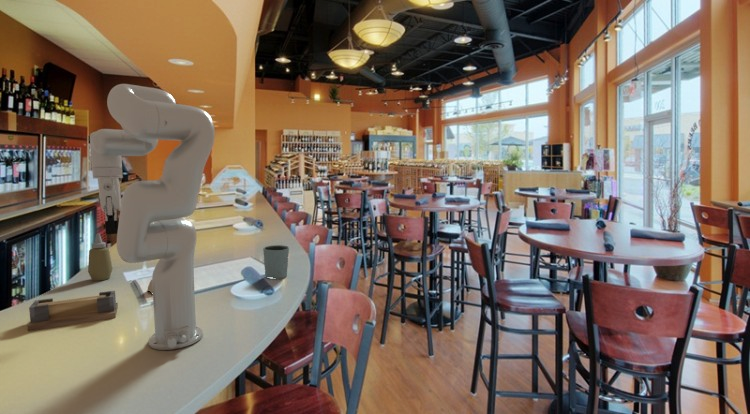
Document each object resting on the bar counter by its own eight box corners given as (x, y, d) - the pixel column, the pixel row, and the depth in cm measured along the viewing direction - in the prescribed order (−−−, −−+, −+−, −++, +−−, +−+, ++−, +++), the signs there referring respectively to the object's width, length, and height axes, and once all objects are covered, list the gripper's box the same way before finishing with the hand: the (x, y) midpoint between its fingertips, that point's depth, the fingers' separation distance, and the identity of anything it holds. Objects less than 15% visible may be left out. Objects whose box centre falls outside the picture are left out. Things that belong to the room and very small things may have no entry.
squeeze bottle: (91, 277, 160) (87, 233, 158) (114, 275, 163) (112, 231, 161) (86, 282, 152) (82, 236, 151) (111, 280, 156) (108, 235, 154)
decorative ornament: (158, 288, 146) (158, 274, 145) (166, 294, 140) (165, 279, 140) (146, 291, 143) (145, 276, 143) (153, 296, 137) (152, 281, 137)
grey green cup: (263, 274, 166) (262, 245, 165) (288, 272, 169) (287, 244, 168) (264, 280, 156) (263, 250, 155) (290, 278, 159) (290, 249, 158)
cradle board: (115, 317, 118) (114, 298, 118) (27, 331, 109) (26, 309, 108) (117, 307, 127) (116, 288, 126) (37, 318, 117) (35, 298, 117)
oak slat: (105, 310, 120) (104, 297, 120) (37, 320, 112) (35, 306, 112) (106, 307, 123) (105, 294, 122) (39, 316, 115) (38, 303, 114)
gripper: (122, 173, 116) (126, 235, 118) (122, 173, 129) (126, 229, 130) (90, 173, 112) (95, 238, 114) (94, 173, 125) (99, 231, 126)
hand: (112, 233), depth 122 cm, fingers closed
